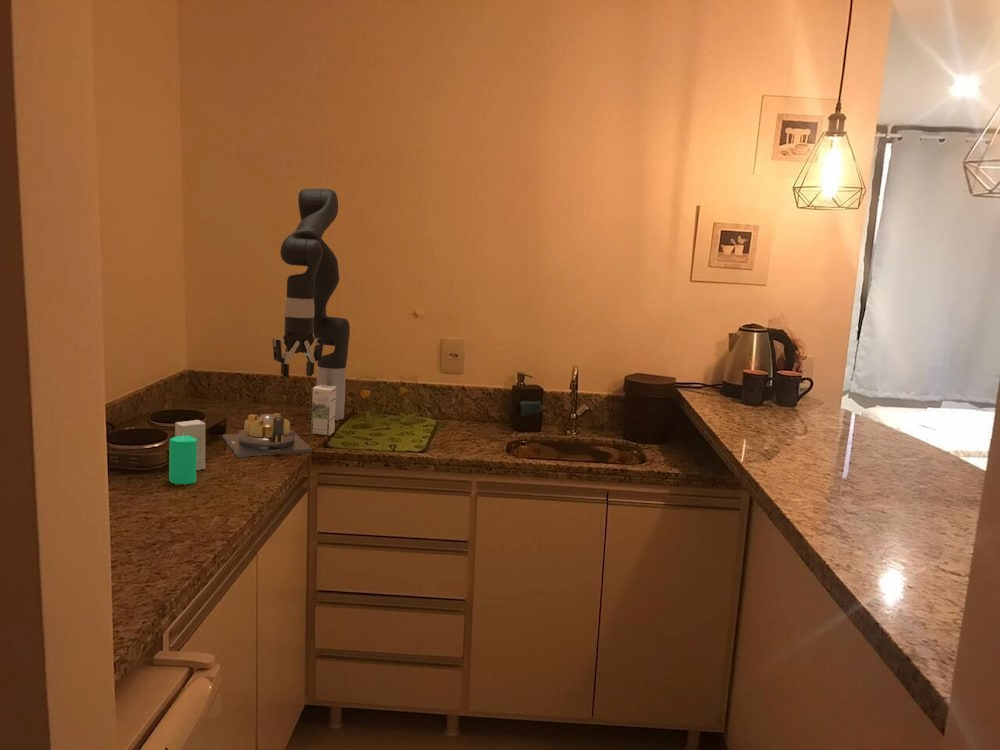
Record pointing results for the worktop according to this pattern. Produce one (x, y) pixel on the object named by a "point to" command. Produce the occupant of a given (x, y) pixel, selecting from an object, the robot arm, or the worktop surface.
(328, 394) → the syrup box
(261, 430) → the gold notched piece
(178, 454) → the candle
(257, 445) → the bearing housing
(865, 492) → the worktop surface
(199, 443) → the skincare box
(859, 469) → the worktop surface
